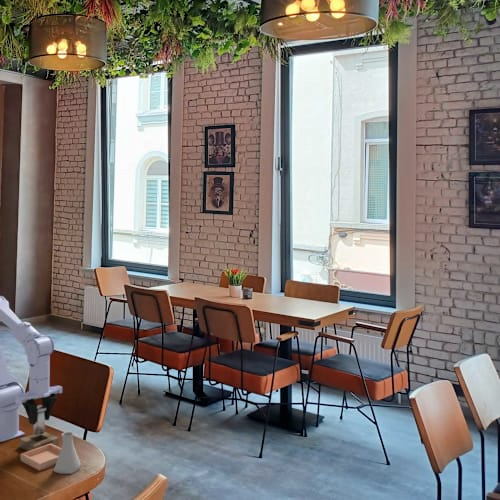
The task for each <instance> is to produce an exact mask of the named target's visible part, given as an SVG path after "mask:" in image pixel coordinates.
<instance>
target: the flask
mask: <svg viewBox="0 0 500 500" xmlns="http://www.w3.org/2000/svg"><path fill="white" fill-rule="evenodd" d="M74 434H75V433H74V432H72V431H65V432H63V433H61V438H62V440H61V441H62V443H61V447H60V448H61V451H60V454H59V457H58V460H57V463H56V465H54V469H53V472H54V473H58V474H61V475H63V474H68V475H69V474H70V475H71V474H74V473H76V472H77V471H80V470H81V466H82V463H81V461H80V458H79V456H78V454H77V450H76V448H75V445H74V440H73V439H74Z"/></svg>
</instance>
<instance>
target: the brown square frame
mask: <svg viewBox="0 0 500 500" xmlns="http://www.w3.org/2000/svg"><path fill="white" fill-rule="evenodd" d="M59 441H60V439H59V437H58V436H56V435H53V434H51V433H48V432H46V431H45V433H44V434H41V435H35V434H34V433H33V434H31V435H28V436H24V437H21V438H19V448H20V449H23V450H24V451H26V452H27V451H30V450H33V449H36V448H39V447H42V446H45V445H47V444H50V443H51V444H53V445H56V446H58V447H60V442H59Z"/></svg>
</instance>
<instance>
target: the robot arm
mask: <svg viewBox="0 0 500 500" xmlns="http://www.w3.org/2000/svg"><path fill="white" fill-rule="evenodd" d="M0 322H2V323H3V324H5V325H6V326H7V327H8V328H9V329H11V330H12V337H13V338H15V339H16V340H17V341H18V342H19V343H20V344H21V345H22V347H24V352H25V355H26V358H27V363H28V365H29V366H28V367H29V368H28V369H29V370H28V371H29V372H28V375H29V378H28V379H29V380H28V381H29V382H28V383H29V384H28V385H29V386H28V389H29V390H28V391H27V392H25V388H24V386H23V385H22V384H21V383H20V380H19V378H18V377H16V376H14V375H12V374H10V371H9V367H8V364H7V361H6V357H5V355H4V352H3V349H2V346H1V344H0V442H1V443H2V442H6V441H9V440H11V439H15V438H18V437H21V436H25V434H26V433H25V432H23V431H22V430H19V429H20V423H19V422H20V412H19V411H20V407H21V405H22V406H23V408H24V410H25V412H26V415H27V419H28V423H29V424H31V425H32V426H34V424H35V423H36V410H37V406H38V405H39V403H38V402H36V401H35V400H37V399H41V405H45V406H47V410H46V411H45V421H50V418H51V414H52V410H53V408H54V405H55V403H57V400H58V396H57V395H56V394H63V386H61V385H54V386H50V379H51V378H50V377H51V376H50V374H51V370H50V369H51V368H50V367H51V365H50V364H51V363H50V362H51V359H50V358H51V356H50V355H52V354H53V352H54V350H55V343H54V340H53V338H51V336H50V335H49V334H46V335H44V334H41V332H38V331H37V329H36V328H34V326H33V325H32V324H31V323H30V321H29V322H28V321H21V319H20V318H19V316H17V315H16V314H15V313H14V311H13V310H11V308H10V302H9V301H8V300H7V299H6V297H4V296H3V295H0Z"/></svg>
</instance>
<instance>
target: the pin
mask: <svg viewBox="0 0 500 500" xmlns="http://www.w3.org/2000/svg"><path fill="white" fill-rule="evenodd" d="M46 410H47V406H45V405H42V404H38V406H37V410H36V423H35V424H34V425H33V434H35V435H41V434H44V433H45V432H46V420H45V411H46Z"/></svg>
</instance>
